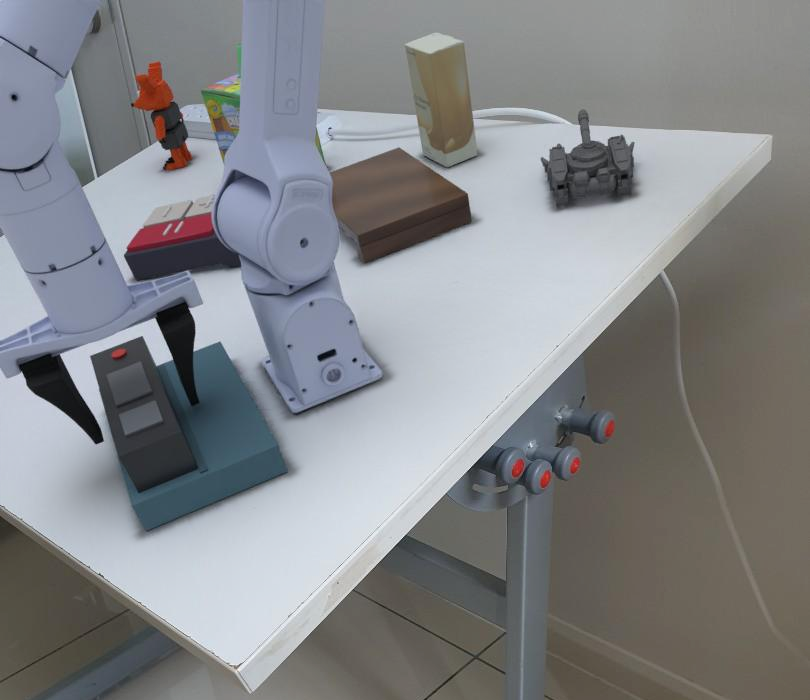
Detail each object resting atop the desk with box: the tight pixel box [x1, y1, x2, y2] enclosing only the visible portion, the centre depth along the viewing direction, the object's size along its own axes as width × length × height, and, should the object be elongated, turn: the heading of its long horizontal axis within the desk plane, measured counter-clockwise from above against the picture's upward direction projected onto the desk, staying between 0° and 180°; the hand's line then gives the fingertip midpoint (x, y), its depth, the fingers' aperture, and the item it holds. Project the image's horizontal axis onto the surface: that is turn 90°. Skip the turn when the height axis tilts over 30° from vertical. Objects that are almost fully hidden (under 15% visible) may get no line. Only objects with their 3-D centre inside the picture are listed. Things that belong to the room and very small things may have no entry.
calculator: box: [123, 194, 241, 281], centre depth 95 cm, size 11×4×15 cm
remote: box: [89, 335, 198, 493], centre depth 66 cm, size 16×4×4 cm, turn 23°
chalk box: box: [200, 43, 327, 166], centre depth 103 cm, size 9×9×15 cm
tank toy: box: [540, 109, 635, 207], centre depth 87 cm, size 12×10×5 cm
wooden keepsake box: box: [329, 147, 473, 264], centre depth 92 cm, size 18×12×3 cm, turn 23°
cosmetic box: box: [404, 31, 478, 168], centre depth 98 cm, size 6×4×12 cm
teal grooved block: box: [98, 341, 289, 532], centre depth 69 cm, size 18×11×3 cm, turn 23°
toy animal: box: [130, 61, 193, 171], centre depth 116 cm, size 8×6×12 cm
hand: (146, 417), depth 67 cm, fingers open, 7 cm apart
